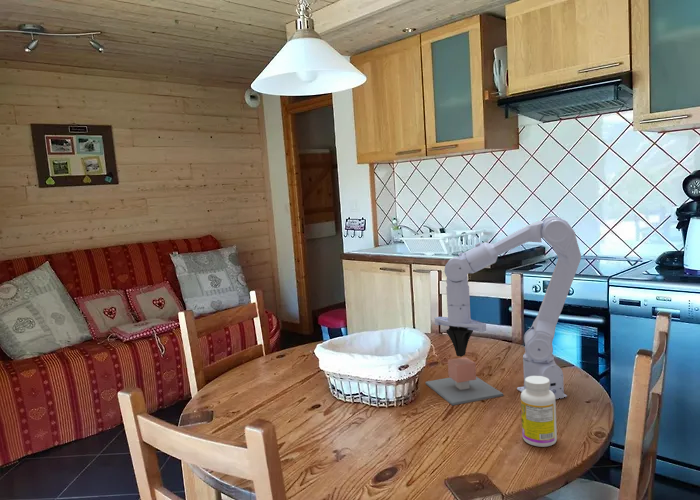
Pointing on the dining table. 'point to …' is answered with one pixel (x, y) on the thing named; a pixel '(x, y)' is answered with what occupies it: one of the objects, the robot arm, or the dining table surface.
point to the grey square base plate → (463, 390)
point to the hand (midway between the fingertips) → (461, 355)
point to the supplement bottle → (538, 412)
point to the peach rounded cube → (462, 369)
